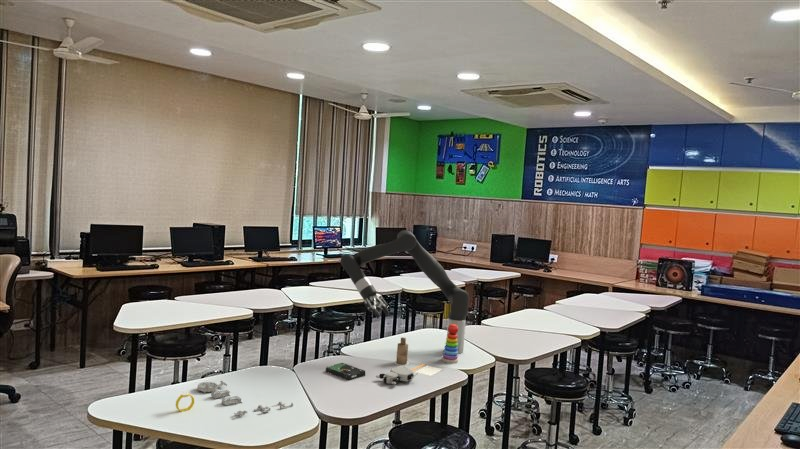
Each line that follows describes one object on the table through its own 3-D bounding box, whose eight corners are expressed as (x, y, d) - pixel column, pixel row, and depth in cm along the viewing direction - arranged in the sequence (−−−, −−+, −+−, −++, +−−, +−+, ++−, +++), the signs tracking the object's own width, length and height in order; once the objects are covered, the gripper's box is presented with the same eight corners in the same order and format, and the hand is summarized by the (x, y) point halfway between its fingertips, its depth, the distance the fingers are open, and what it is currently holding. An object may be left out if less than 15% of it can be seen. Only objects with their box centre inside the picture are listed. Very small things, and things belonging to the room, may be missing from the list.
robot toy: (394, 391, 219) (418, 381, 230) (394, 380, 219) (419, 371, 229) (373, 382, 228) (398, 373, 238) (374, 372, 227) (398, 363, 238)
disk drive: (365, 377, 233) (341, 368, 242) (366, 370, 233) (342, 362, 242) (349, 382, 225) (324, 372, 234) (349, 375, 225) (325, 366, 234)
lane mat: (398, 358, 261) (398, 357, 261) (444, 369, 249) (444, 368, 249) (382, 365, 248) (382, 364, 248) (430, 378, 236) (430, 376, 236)
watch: (178, 414, 181) (177, 397, 180) (174, 411, 183) (174, 395, 182) (195, 409, 185) (195, 392, 185) (191, 406, 187) (191, 390, 187)
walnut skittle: (399, 360, 256) (401, 336, 256) (408, 363, 254) (410, 338, 253) (394, 363, 252) (396, 338, 251) (403, 365, 249) (405, 340, 249)
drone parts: (249, 380, 220) (250, 373, 220) (295, 410, 194) (296, 401, 194) (193, 389, 204) (194, 381, 204) (236, 422, 178) (237, 413, 178)
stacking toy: (453, 365, 257) (456, 326, 256) (438, 361, 261) (441, 323, 260) (460, 361, 263) (463, 324, 263) (446, 358, 268) (449, 321, 267)
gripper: (362, 285, 255) (381, 313, 250) (378, 282, 267) (396, 309, 262) (352, 294, 258) (370, 322, 253) (368, 291, 270) (386, 318, 265)
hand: (383, 315), depth 258 cm, fingers open, 8 cm apart
